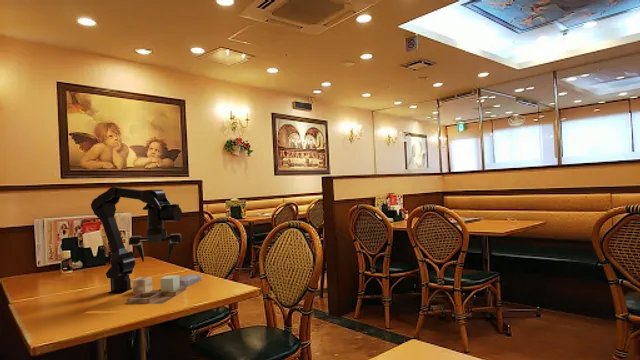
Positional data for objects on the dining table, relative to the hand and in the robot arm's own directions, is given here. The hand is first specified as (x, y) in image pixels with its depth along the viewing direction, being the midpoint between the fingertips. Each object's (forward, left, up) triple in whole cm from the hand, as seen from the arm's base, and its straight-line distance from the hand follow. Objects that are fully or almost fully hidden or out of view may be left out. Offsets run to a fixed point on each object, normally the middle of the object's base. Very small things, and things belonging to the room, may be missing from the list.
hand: (156, 260), depth 153 cm
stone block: (+6, +10, -13) cm, 18 cm away
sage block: (+8, -4, -12) cm, 14 cm away
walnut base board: (+5, -8, -12) cm, 16 cm away
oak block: (-5, -2, -12) cm, 14 cm away
